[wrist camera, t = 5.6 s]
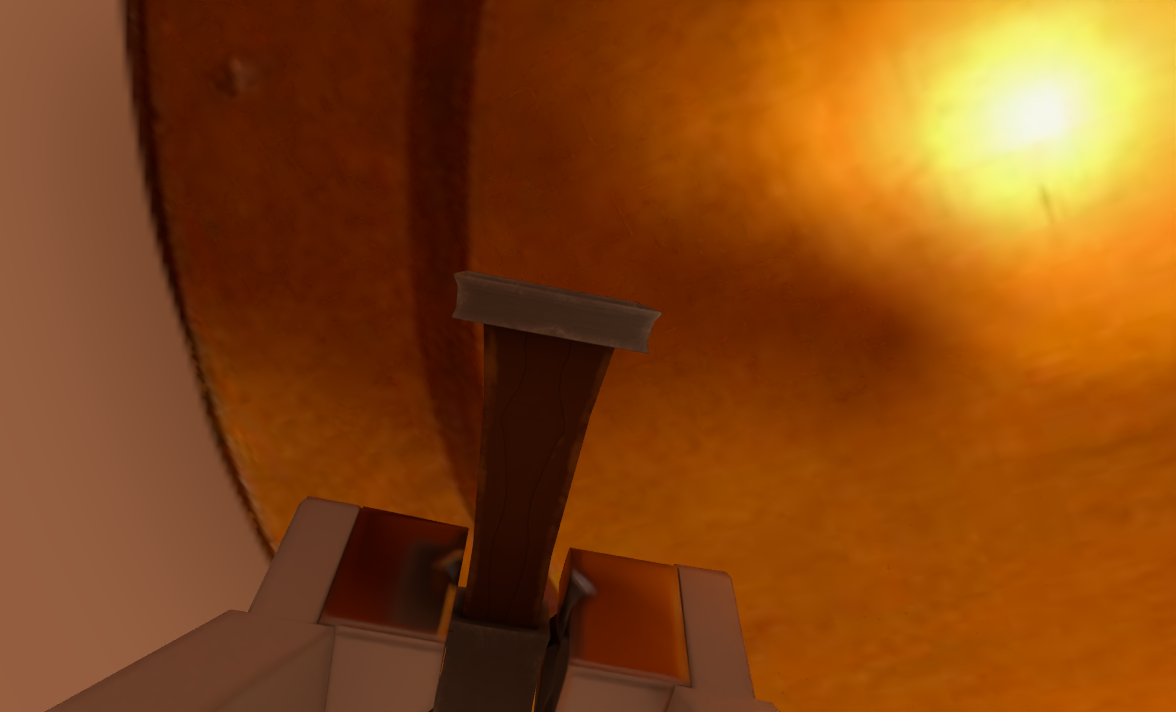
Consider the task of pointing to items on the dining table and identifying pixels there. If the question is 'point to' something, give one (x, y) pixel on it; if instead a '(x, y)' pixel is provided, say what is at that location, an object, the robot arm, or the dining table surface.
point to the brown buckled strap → (525, 473)
